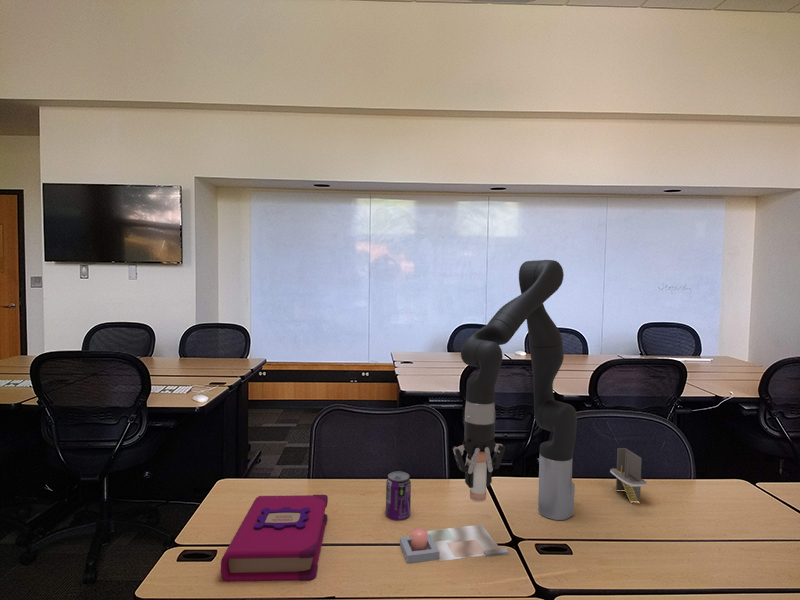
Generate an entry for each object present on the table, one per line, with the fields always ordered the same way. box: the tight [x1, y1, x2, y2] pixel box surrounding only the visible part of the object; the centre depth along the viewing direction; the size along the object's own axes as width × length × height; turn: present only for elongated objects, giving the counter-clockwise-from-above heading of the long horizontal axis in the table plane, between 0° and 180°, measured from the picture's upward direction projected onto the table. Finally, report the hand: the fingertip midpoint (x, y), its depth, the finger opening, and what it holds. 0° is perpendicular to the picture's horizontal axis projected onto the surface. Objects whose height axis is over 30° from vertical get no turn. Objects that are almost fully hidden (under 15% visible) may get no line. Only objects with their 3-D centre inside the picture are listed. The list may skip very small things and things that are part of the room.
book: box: [220, 494, 329, 583], centre depth 117 cm, size 21×28×8 cm
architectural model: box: [609, 447, 648, 503], centre depth 146 cm, size 20×25×15 cm
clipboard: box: [427, 524, 510, 562], centre depth 119 cm, size 20×16×1 cm
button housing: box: [399, 534, 440, 564], centre depth 114 cm, size 8×8×2 cm
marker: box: [469, 451, 487, 503], centre depth 116 cm, size 4×4×12 cm
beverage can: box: [385, 471, 412, 521], centre depth 132 cm, size 7×7×12 cm
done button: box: [410, 527, 428, 551], centre depth 114 cm, size 4×4×4 cm
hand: (478, 485), depth 116 cm, fingers closed on marker, 4 cm apart
